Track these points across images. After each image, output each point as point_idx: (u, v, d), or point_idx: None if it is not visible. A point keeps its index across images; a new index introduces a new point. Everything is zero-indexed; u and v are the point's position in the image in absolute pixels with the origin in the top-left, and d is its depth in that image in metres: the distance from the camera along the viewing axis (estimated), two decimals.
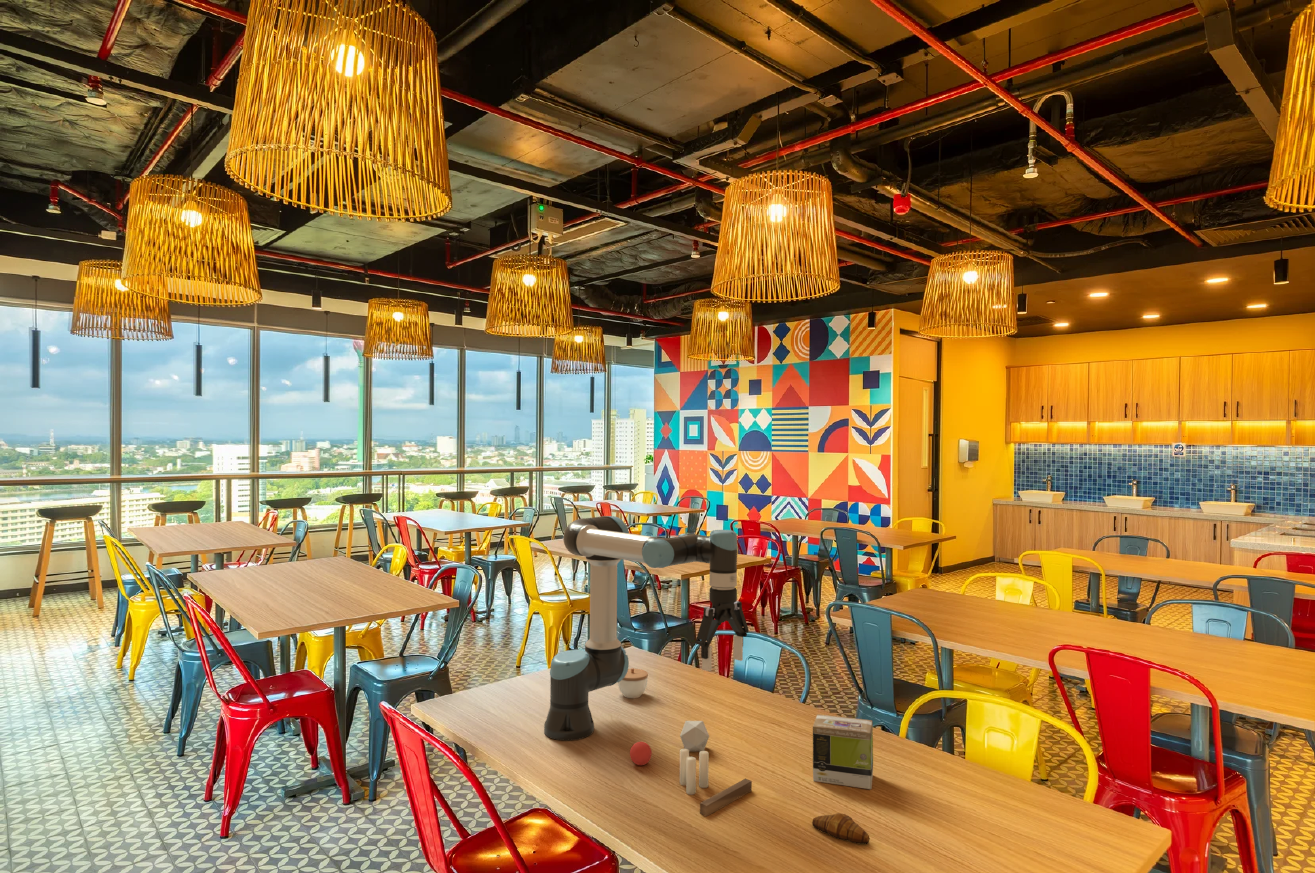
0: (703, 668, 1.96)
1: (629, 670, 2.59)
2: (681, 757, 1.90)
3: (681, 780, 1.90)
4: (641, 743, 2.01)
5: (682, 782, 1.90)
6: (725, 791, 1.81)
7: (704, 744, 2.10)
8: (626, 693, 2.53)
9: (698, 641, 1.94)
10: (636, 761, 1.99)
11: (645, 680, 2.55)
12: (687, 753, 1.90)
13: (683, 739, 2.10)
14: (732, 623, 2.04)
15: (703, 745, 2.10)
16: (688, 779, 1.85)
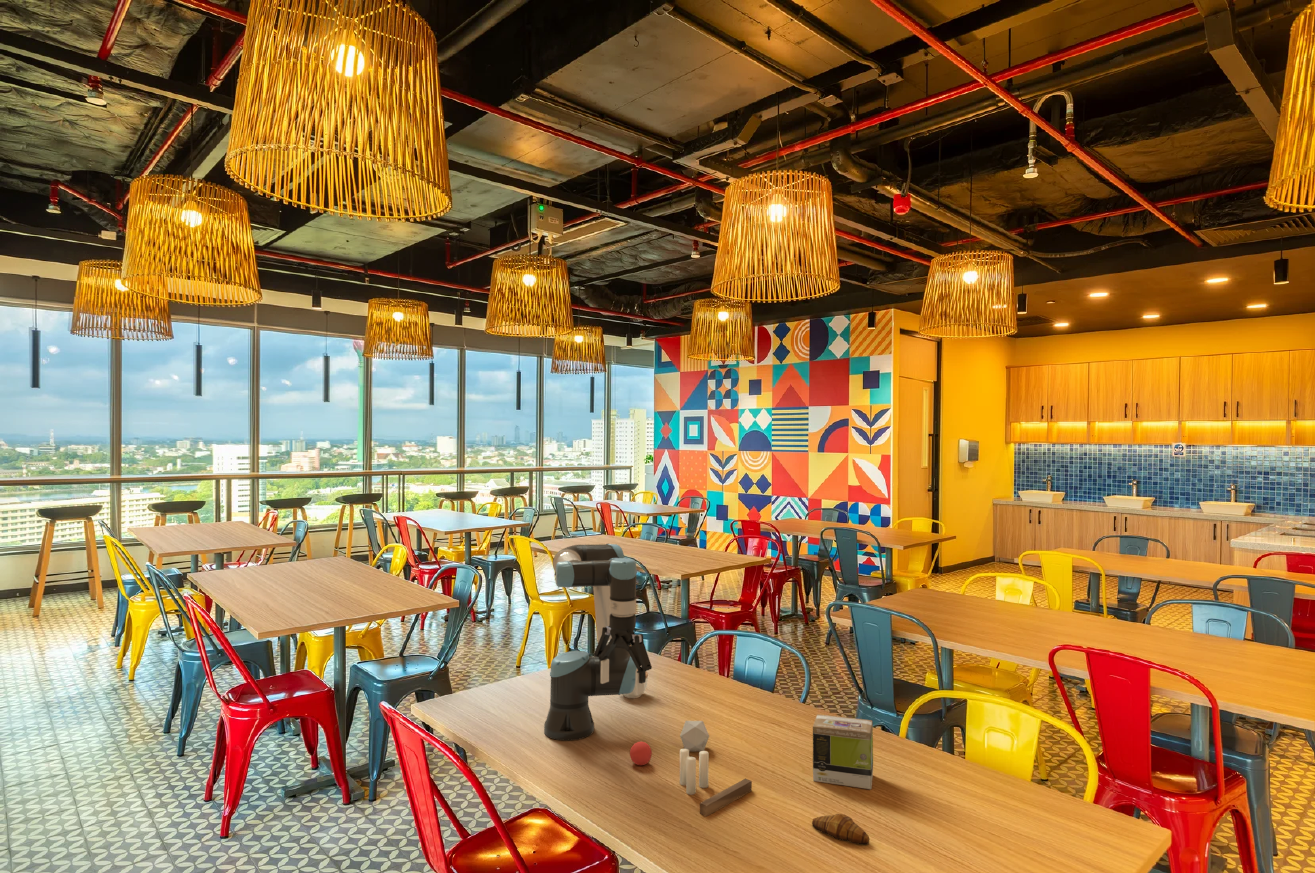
0: None
1: None
2: (681, 757, 1.90)
3: (681, 780, 1.90)
4: (641, 743, 2.01)
5: (682, 782, 1.90)
6: (725, 791, 1.81)
7: (704, 744, 2.10)
8: None
9: None
10: (636, 761, 1.99)
11: None
12: (687, 753, 1.90)
13: (683, 739, 2.10)
14: None
15: (703, 745, 2.10)
16: (688, 779, 1.85)
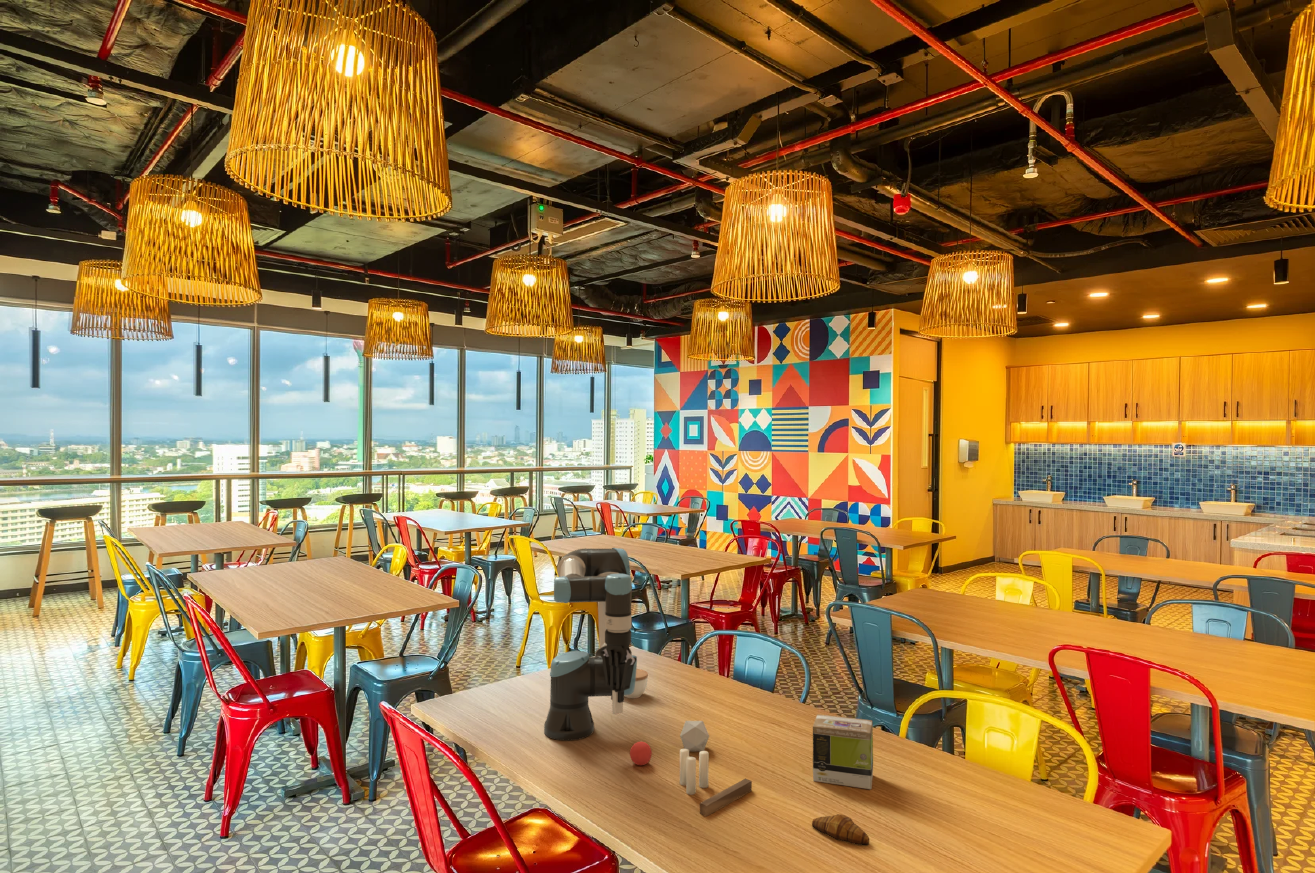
0: None
1: None
2: (681, 757, 1.90)
3: (681, 780, 1.90)
4: (641, 743, 2.01)
5: (682, 782, 1.90)
6: (725, 791, 1.81)
7: (704, 744, 2.10)
8: None
9: None
10: (636, 761, 1.99)
11: (645, 680, 2.55)
12: (687, 753, 1.90)
13: (683, 739, 2.10)
14: None
15: (703, 745, 2.10)
16: (688, 779, 1.85)
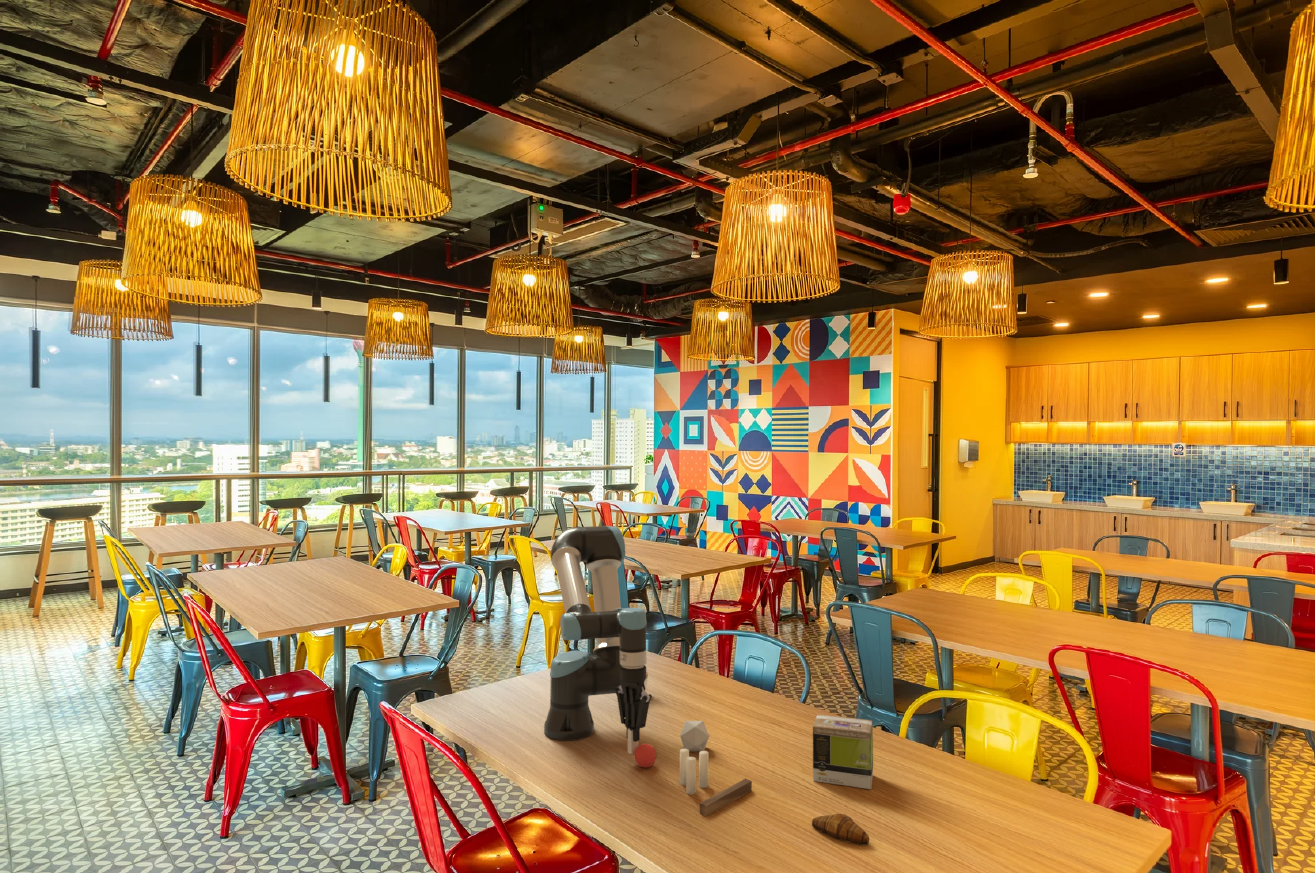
0: None
1: None
2: (681, 757, 1.90)
3: (681, 780, 1.90)
4: (649, 749, 1.99)
5: (682, 782, 1.90)
6: (725, 791, 1.81)
7: (704, 744, 2.10)
8: None
9: None
10: (639, 764, 1.98)
11: (645, 680, 2.55)
12: (687, 753, 1.90)
13: (683, 739, 2.10)
14: None
15: (703, 745, 2.10)
16: (688, 779, 1.85)
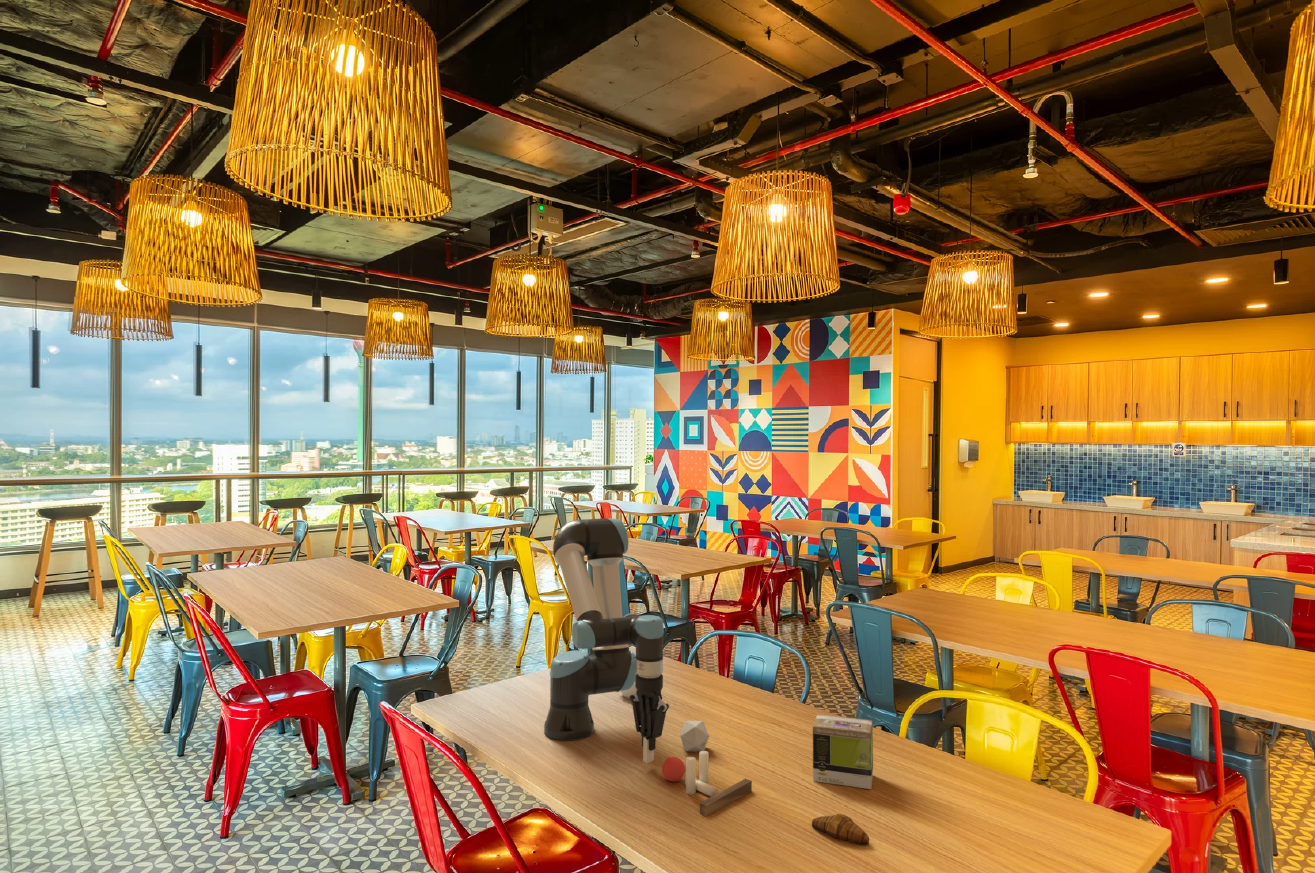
0: None
1: None
2: (705, 791, 1.84)
3: None
4: None
5: None
6: (725, 791, 1.81)
7: (704, 744, 2.10)
8: (626, 693, 2.53)
9: None
10: (667, 767, 1.90)
11: None
12: None
13: (683, 739, 2.10)
14: None
15: (703, 745, 2.10)
16: (688, 779, 1.85)
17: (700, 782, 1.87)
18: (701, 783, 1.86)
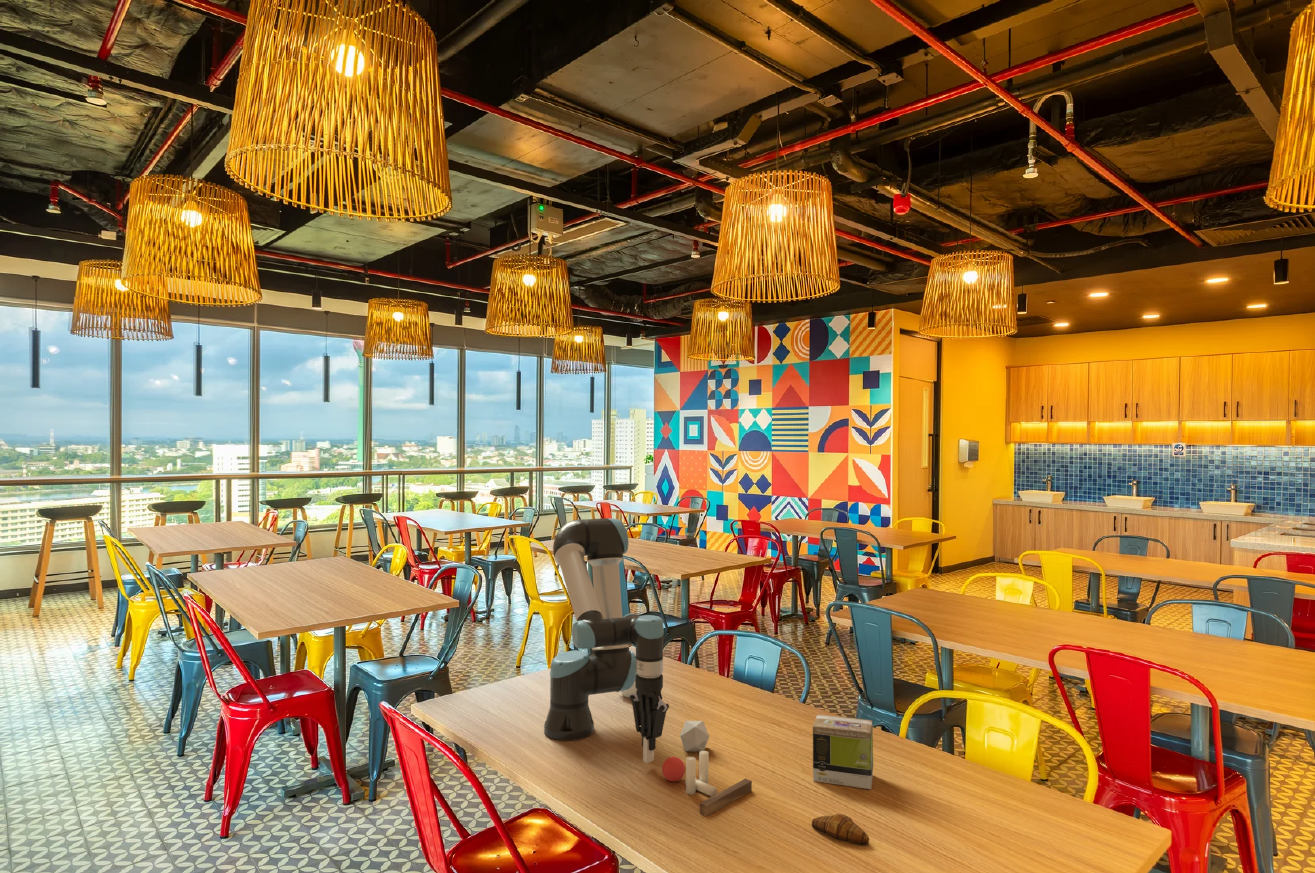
0: None
1: None
2: (705, 791, 1.84)
3: None
4: None
5: None
6: (725, 791, 1.81)
7: (704, 744, 2.10)
8: (626, 693, 2.53)
9: None
10: (667, 767, 1.90)
11: None
12: None
13: (683, 739, 2.10)
14: None
15: (703, 745, 2.10)
16: (688, 779, 1.85)
17: (700, 782, 1.87)
18: (701, 783, 1.86)
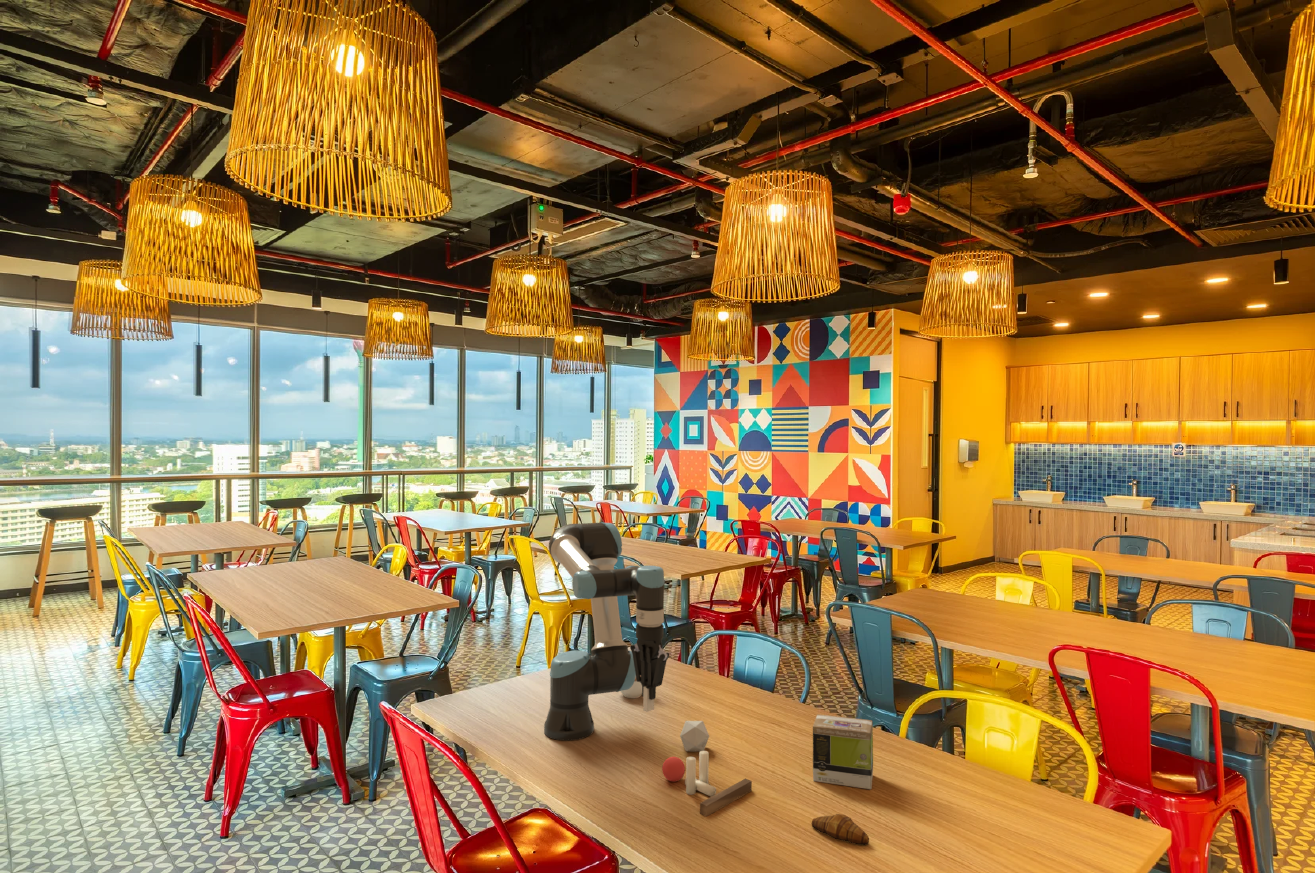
0: None
1: None
2: (705, 791, 1.84)
3: None
4: None
5: None
6: (725, 791, 1.81)
7: (704, 744, 2.10)
8: (626, 693, 2.53)
9: None
10: (667, 767, 1.90)
11: None
12: None
13: (683, 739, 2.10)
14: None
15: (703, 745, 2.10)
16: (688, 779, 1.85)
17: (700, 782, 1.87)
18: (701, 783, 1.86)
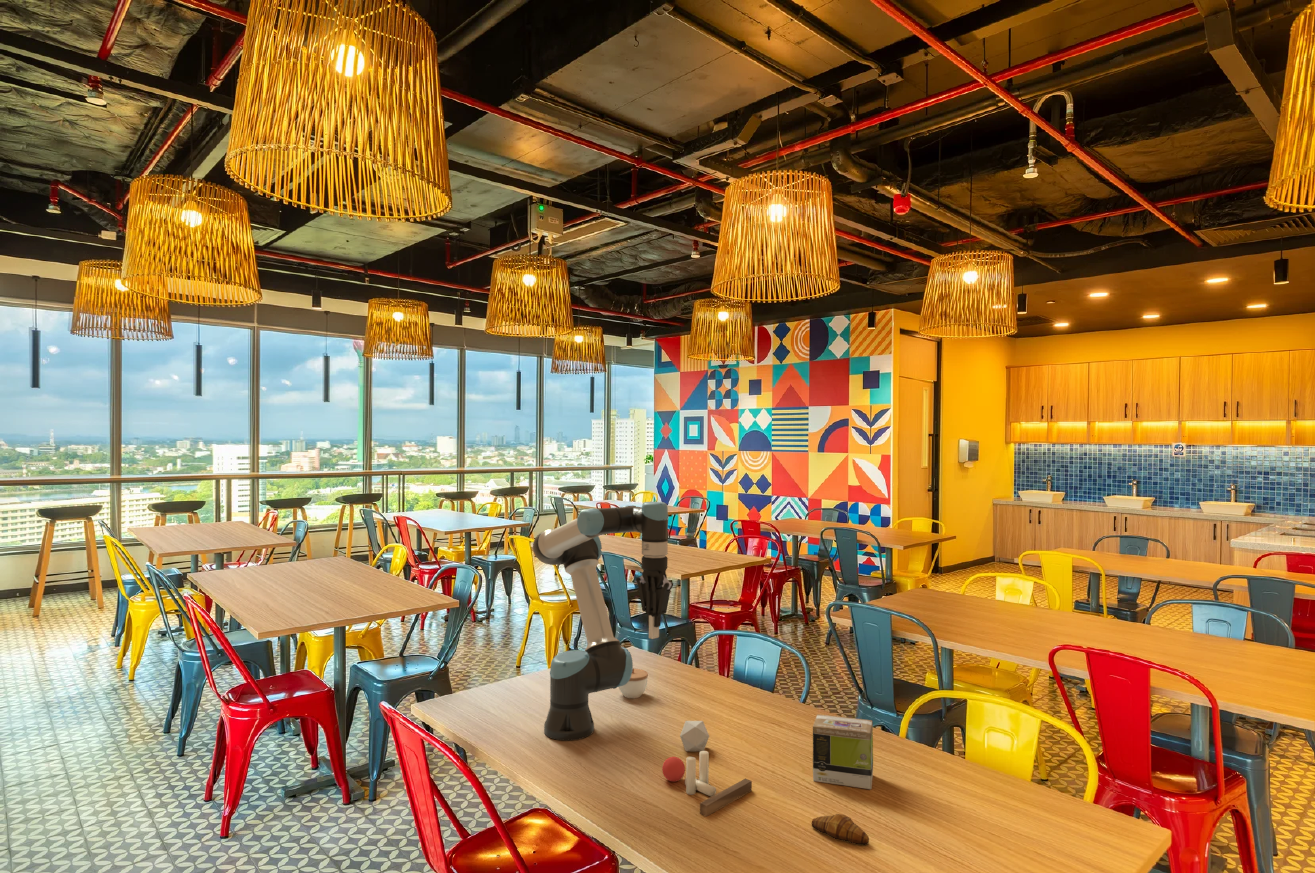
0: None
1: None
2: (705, 791, 1.84)
3: None
4: None
5: None
6: (725, 791, 1.81)
7: (704, 744, 2.10)
8: (626, 693, 2.53)
9: None
10: (667, 767, 1.90)
11: (645, 680, 2.55)
12: None
13: (683, 739, 2.10)
14: None
15: (703, 745, 2.10)
16: (688, 779, 1.85)
17: (700, 782, 1.87)
18: (701, 783, 1.86)
